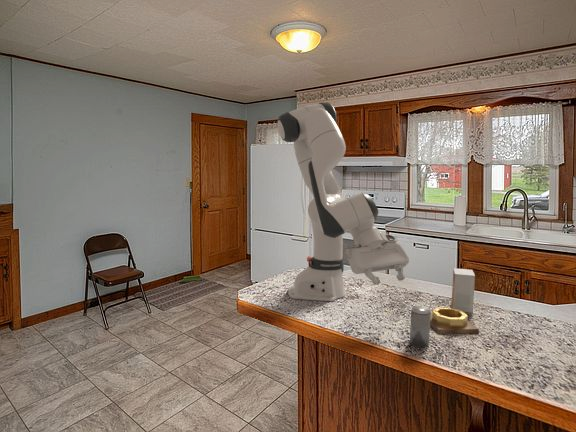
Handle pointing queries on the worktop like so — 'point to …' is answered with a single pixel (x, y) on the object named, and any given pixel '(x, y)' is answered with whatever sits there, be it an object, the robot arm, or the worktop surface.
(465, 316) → the ring
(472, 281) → the small box
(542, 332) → the worktop surface
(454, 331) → the board
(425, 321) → the grey metal cylinder
